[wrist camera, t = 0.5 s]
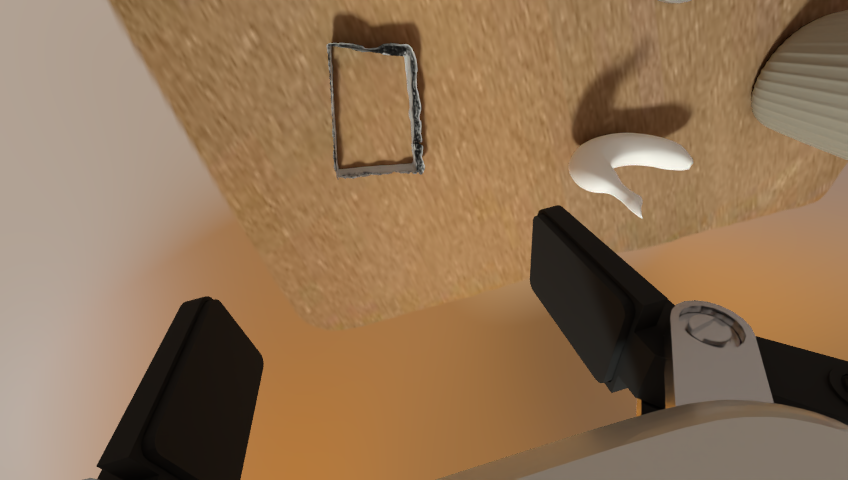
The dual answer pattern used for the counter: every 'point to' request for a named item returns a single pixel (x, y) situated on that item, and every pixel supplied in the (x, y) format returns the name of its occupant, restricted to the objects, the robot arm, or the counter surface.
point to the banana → (623, 162)
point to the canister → (808, 86)
